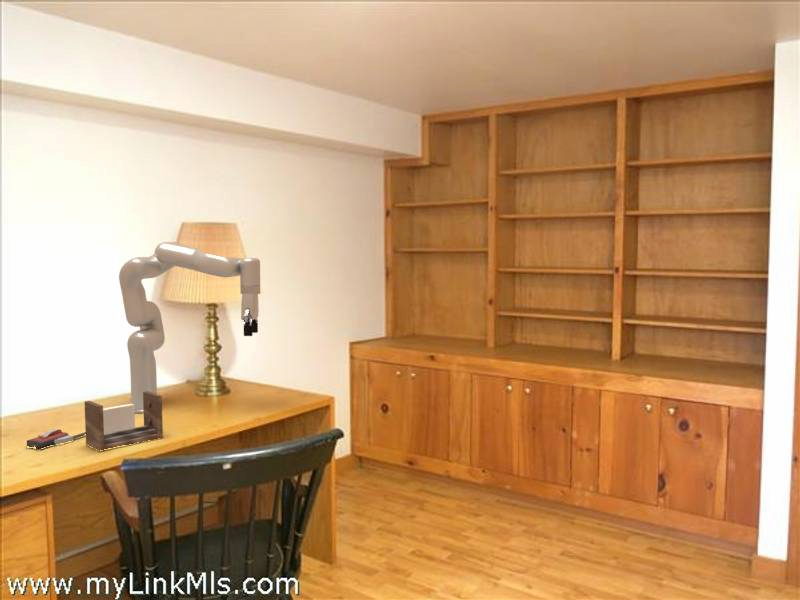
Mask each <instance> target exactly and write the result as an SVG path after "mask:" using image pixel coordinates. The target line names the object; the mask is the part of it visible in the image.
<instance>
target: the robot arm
mask: <svg viewBox="0 0 800 600" xmlns="http://www.w3.org/2000/svg"><path fill="white" fill-rule="evenodd" d="M174 267H178V268H182V269H188V270H191V271H195V272H198V273H203V274H205V275H210V276H215V277H220V278H233V277H239V279H240V280H239V281H240V283H239V284H240V285H239V287H240V295H241V307H240V308H241V309H240V319H241V320H242V321H243V336H244V337H252V336H253V333H254V334H257V333H258V332H259V325H258V324H259V323H258V321H259V320H258V317H259V295H261V261H260V259H259V258H257V257H243V258H242V257H236V256H235V257H233V256H230V257H229V256H228V257H225V256H224V257H223V256H218V255H214V254H210V253H206V252H203V251H202V249H200V248H197V247H193V246H188V245H187V246H186V245H183V244H181V243H179V242H175V241H164V242H161V243H158V245H157V246H156V247H155V249H154V254H152V255H150V256H139V257H138V256H137V257H133V258H131V259H128V261H126V262H125V263H124V264H123V265H122V266H121V269H120V271H119V275H118V280H119V285H120V290H121V296H122V302H123V307H124V314H125V318H126V321H127V323H128V324H129V325H130V326H131V327H135V328H136V327H137V328H139V329H138V330H136V331H134V332H132V333H131V335H129V337H128V339H127V342H126V343H127V344H126V345H127V346H126V347H127V352H128V356H129V367H130V368H129V369H130V370H129V371H130V396H131V397H130V399H129V400H130V402H131V403H130V404H133V405H134V409H135V414H144V408H143V392H145V391H149V392H152V393H155V394H158V382H157V379H158V377H157V360H156V356H155V353H154V351H157V350H159V349H160V348H162V347H163V345H164V343H165V340H166V339H165V331H164V330H165V329H164V324H163V319H162V313H161V310H160V308H159V307H158V305H157V304H156V303H155V302H153V301H150V300H147V293H146V290H145V287H144V285H143V283H142V280H145V279H146V280H148V279H155V278H158V277H159V276H161V275H163V274H165V273H166V272H168V271H169V270H171V269H173V268H174Z"/></svg>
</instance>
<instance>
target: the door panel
mask: <svg viewBox="0 0 800 600" xmlns="http://www.w3.org/2000/svg"><path fill="white" fill-rule="evenodd" d="M135 414H136V413H135V409H134V405H133V404H131V403H128V404H127V403H126V404H123V405H116V406H110V407H105V408H104V407H103V422H104V434H107V433H112V432H117V431H122V430H127V429H132V428H136V420H135V419H136V417H135Z"/></svg>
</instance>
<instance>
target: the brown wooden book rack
mask: <svg viewBox="0 0 800 600" xmlns="http://www.w3.org/2000/svg"><path fill="white" fill-rule="evenodd" d="M162 397H163V395H161V394H158V393H157V394H155V393H152V392H149V391H145V392H143V408H144V413H143V426H142V425H141V426H138V427H135V428H132V429H127V430H122V431H117V432H112V433H107V434H104V422H103V409H104V405H102V404H99V403H96V402H94V401H91V400H85V401H84V423H85V425H84V426H85V432H86V435H85V445H86V444H87V445H89V446H91V447H93V448H95V449H97V450H99V451H100V450H104V449H108V448H113V447H117V446H122V445H129V444H134V443H137V442H143V441H147V442H149V441H148V440H152V441H154V440H153V439H156V440H159V439H158V438H161V439H163V438H164V433H163V432H164V431H163V430H164V429H163V398H162ZM143 443H144V442H143ZM134 445H135V444H134ZM129 446H130V445H129Z"/></svg>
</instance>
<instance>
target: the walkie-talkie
mask: <svg viewBox="0 0 800 600" xmlns="http://www.w3.org/2000/svg"><path fill="white" fill-rule="evenodd" d="M85 434H86V431H85V432H82V433H79V434H74V435H69V433H68V432H63V431H62V430H61V429H57V428H52V429H51V430H50V429H49V430H47V431H45V432H44V433H43V434H38V435H37V437H33V438H31V439H29V440H26V447H27V446H29V447H34V446H35V447H36V449H41V448H44V447H47V446H50V445H56V444H60V443H65V442H68V441H72V440H73V439H74V440H76V439H77V438H78V437H79V438H81V436H82V437H83V436H86V435H85ZM74 440H73V441H74Z"/></svg>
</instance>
